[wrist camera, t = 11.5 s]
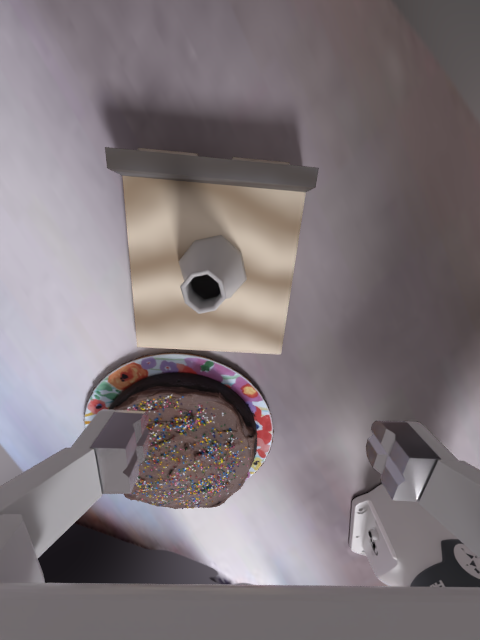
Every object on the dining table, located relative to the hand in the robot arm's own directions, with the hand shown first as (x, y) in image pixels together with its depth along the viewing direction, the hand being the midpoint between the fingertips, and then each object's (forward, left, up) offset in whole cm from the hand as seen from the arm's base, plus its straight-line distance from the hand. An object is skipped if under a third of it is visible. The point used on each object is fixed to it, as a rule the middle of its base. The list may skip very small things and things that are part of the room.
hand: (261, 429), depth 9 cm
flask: (+2, +3, -20) cm, 21 cm away
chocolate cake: (-23, +7, -22) cm, 33 cm away
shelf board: (+2, +3, -22) cm, 22 cm away
